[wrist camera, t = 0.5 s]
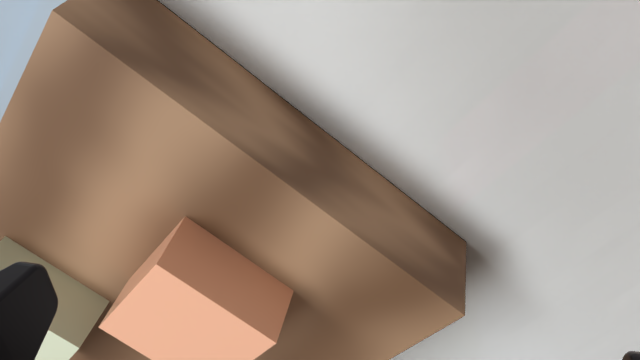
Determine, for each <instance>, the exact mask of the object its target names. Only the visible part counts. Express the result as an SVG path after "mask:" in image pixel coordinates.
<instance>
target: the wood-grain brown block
mask: <svg viewBox="0 0 640 360" xmlns="http://www.w3.org/2000/svg"><path fill="white" fill-rule="evenodd" d="M185 216H186V217H187V218H189V219H190V220H192V221H193V222H195V223H196V224H198V225H199V226H200V227H202V228H203V229H205V230H206V231H208V232H209V233H211V234H212V235H214V236H215V237H216V238H218V239H219V240H221V241H222V242H224V243H225V244H227V245H228V246H230V247H231V248H232V249H234V250H235V251H237V252H238V253H240V254H241V255H243V256H244V257H245V258H247V259H248V260H250V261H251V262H253V263H254V264H256V265H257V266H259V267H260V268H261V269H263V270H264V271H266V272H267V273H269V274H270V275H272V276H273V277H274V278H276V279H277V280H279V281H280V282H282V283H283V284H285V285H286V286H288V287H289V288H290V289H292V290H293V291H294V292H293V295H292V298H291V301H290V304H289V307H288V310H287V313H286V316H285V319H284V322H283V325H282V328H281V331H280V334H279V337H278V340H277V343H276V344H275V345H273V346H272V347H271V348H269V349H268V350H267V351H265V352H264V353H262V354H261V355H260V356H258V357H257V358H255V359H254V360H389V359H391V358H393V357H394V356H396V355H398V354H400V353H401V352H403V351H405V350H407V349H408V348H410V347H412V346H413V345H415V344H417V343H419V342H420V341H422V340H424V339H426V338H427V337H429V336H431V335H432V334H434V333H436V332H438V331H439V330H441V329H443V328H444V327H446V326H448V325H450V324H451V323H453V322H455V321H457V320H458V319H460V318H462V317H463V316H465V282H466V241H464V240H463V239H462V238H460V237H459V236H458V235H457V234H455V233H454V232H453V231H451V230H450V229H449V228H448V227H446V226H445V225H444V224H443V223H441V222H440V221H439V220H437V219H436V218H435V217H434V216H432V215H431V214H430V213H428V212H427V211H426V210H425V209H423V208H422V207H421V206H419V205H418V204H417V203H416V202H414V201H413V200H412V199H411V198H409V197H408V196H407V195H405V194H404V193H403V192H402V191H400V190H399V189H398V188H396V187H395V186H394V185H393V184H391V183H390V182H389V181H388V180H386V179H385V178H384V177H382V176H381V175H380V174H379V173H377V172H376V171H375V170H373V169H372V168H371V167H370V166H368V165H367V164H366V163H365V162H363V161H362V160H361V159H359V158H358V157H357V156H356V155H354V154H353V153H352V152H350V151H349V150H348V149H347V148H345V147H344V146H343V145H341V144H340V143H339V142H338V141H336V140H335V139H334V138H333V137H331V136H330V135H329V134H327V133H326V132H325V131H324V130H322V129H321V128H320V127H318V126H317V125H316V124H315V123H313V122H312V121H311V120H310V119H308V118H307V117H306V116H304V115H303V114H302V113H301V112H299V111H298V110H297V109H295V108H294V107H293V106H292V105H290V104H289V103H288V102H287V101H285V100H284V99H283V98H281V97H280V96H279V95H278V94H276V93H275V92H274V91H272V90H271V89H270V88H269V87H267V86H266V85H265V84H263V83H262V82H261V81H260V80H258V79H257V78H256V77H255V76H253V75H252V74H251V73H249V72H248V71H247V70H246V69H244V68H243V67H242V66H240V65H239V64H238V63H237V62H235V61H234V60H233V59H232V58H230V57H229V56H228V55H226V54H225V53H224V52H223V51H221V50H220V49H219V48H217V47H216V46H215V45H214V44H212V43H211V42H210V41H208V40H207V39H206V38H205V37H203V36H202V35H201V34H200V33H198V32H197V31H196V30H194V29H193V28H192V27H191V26H189V25H188V24H187V23H185V22H184V21H183V20H182V19H180V18H179V17H178V16H177V15H175V14H174V13H173V12H171V11H170V10H169V9H168V8H166V7H165V6H164V5H162V4H161V3H160V2H159V1H157V0H67V1H65V2H64V3H62V4H61V5H59V6H58V7H56V8H55V9H53V10H52V12H51V14H50V16H49V18H48V20H47V22H46V24H45V27H44V29H43V31H42V33H41V35H40V37H39V40H38V42H37V44H36V46H35V48H34V50H33V52H32V55H31V57H30V59H29V61H28V63H27V65H26V68H25V70H24V72H23V74H22V76H21V78H20V80H19V83H18V85H17V87H16V89H15V91H14V93H13V96H12V98H11V100H10V102H9V104H8V106H7V108H6V111H5V113H4V115H3V117H2V119H1V121H0V241H1V240H2V239H3V238H4V237H5V236H6V237H8V238H9V239H11V240H13V241H14V242H16V243H17V244H19V245H21V246H22V247H24V248H25V249H27V250H28V251H30V252H32V253H33V254H35V255H36V256H38V257H40V258H41V259H43V260H44V261H46V262H48V263H49V264H51V265H52V266H54V267H56V268H57V269H59V270H60V271H62V272H64V273H65V274H67V275H68V276H70V277H72V278H73V279H75V280H76V281H78V282H80V283H81V284H83V285H84V286H86V287H88V288H89V289H91V290H92V291H94V292H96V293H97V294H99V295H100V296H102V297H104V298H105V299H107V300H108V301H110V302H109V303H108V305H107V306H106V308H105V309H104V311H103V313H102V314H101V316H100V317H99V319H98V320H97V322H96V323H95V325H94V326H93V328H92V330H91V331H90V333H89V334H88V336H87V337H86V339H85V340H84V342H83V343H82V345H81V347H80V348H79V349H78V350H77V351H76V353H75V354H74V355H73V356H72V357H71V358H70V359H69V360H151V359H149V358H148V357H146V356H145V355H143V354H141V353H140V352H138V351H136V350H135V349H133V348H131V347H130V346H128V345H126V344H125V343H123V342H122V341H120V340H118V339H117V338H115V337H113V336H112V335H110V334H108V333H107V332H105V331H104V330H102V329H100V328H99V325H100V324H101V322H102V321H103V319H104V318H105V316H106V315H107V313H108V311H109V310H110V308H111V307H112V305H113V304H114V302H115V300H116V299H117V297H118V296H119V294H120V293H121V291H122V289H123V288H124V286H125V285H126V283H127V282H128V280H129V279H130V278H131V277H132V275H133V274H134V273H135V272H136V271H137V270H138V269H139V268H140V266H141V265H142V264H143V263H144V262H145V261H146V260H147V259H148V257H149V256H150V255H151V254H152V253H153V252H154V251H155V250H156V248H157V247H158V246H159V245H160V244H161V243H162V242H163V241H164V239H165V238H166V237H167V236H168V235H169V234H170V233H171V232H172V230H173V229H174V228H175V227H176V226H177V225H178V224H179V223H180V221H181V220H182V219H183V218H184V217H185Z"/></svg>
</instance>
